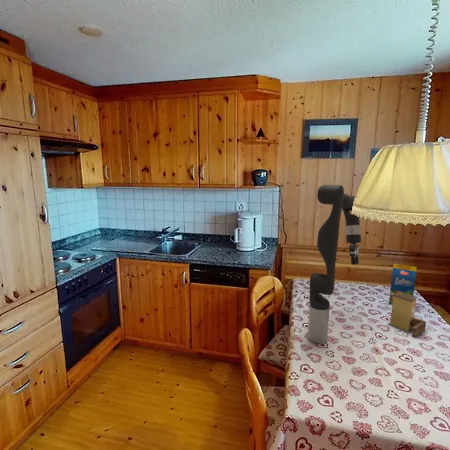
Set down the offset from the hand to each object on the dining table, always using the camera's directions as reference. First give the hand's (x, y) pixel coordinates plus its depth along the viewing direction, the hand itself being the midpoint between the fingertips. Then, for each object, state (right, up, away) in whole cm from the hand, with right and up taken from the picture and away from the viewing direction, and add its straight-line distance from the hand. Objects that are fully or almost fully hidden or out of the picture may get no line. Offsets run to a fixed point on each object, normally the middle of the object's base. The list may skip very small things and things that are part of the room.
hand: (355, 264), depth 162 cm
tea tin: (+23, -32, -4) cm, 40 cm away
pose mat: (+23, -33, -3) cm, 40 cm away
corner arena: (+24, -33, -4) cm, 41 cm away
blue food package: (+38, -28, +22) cm, 52 cm away
